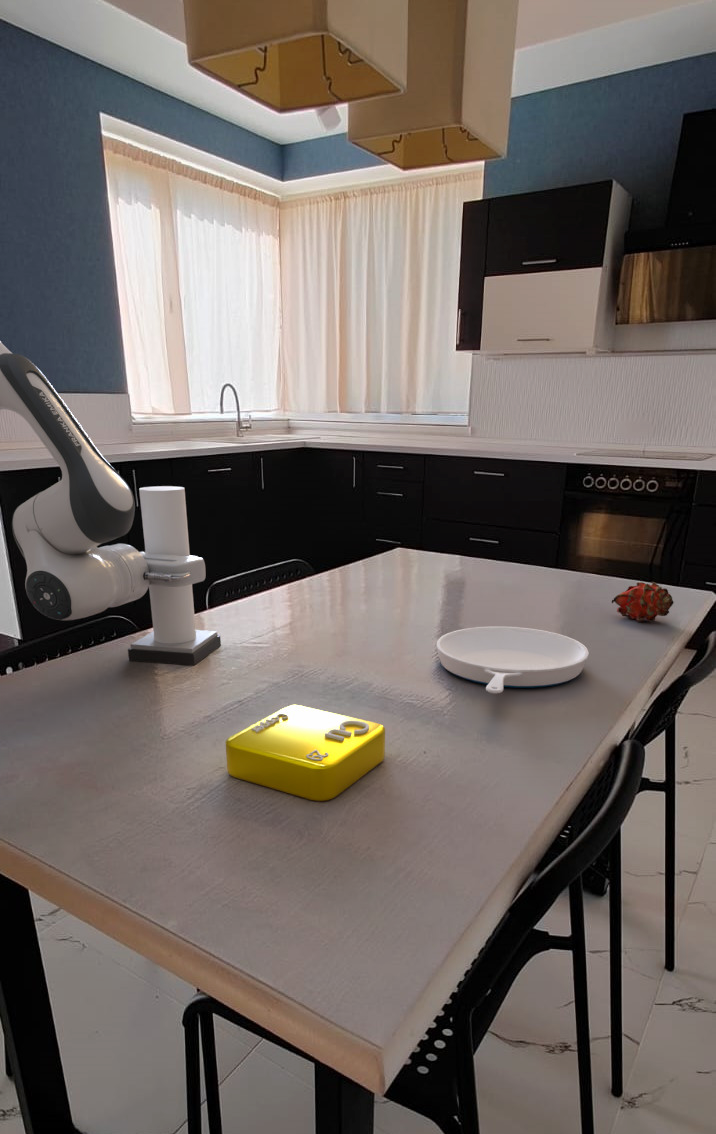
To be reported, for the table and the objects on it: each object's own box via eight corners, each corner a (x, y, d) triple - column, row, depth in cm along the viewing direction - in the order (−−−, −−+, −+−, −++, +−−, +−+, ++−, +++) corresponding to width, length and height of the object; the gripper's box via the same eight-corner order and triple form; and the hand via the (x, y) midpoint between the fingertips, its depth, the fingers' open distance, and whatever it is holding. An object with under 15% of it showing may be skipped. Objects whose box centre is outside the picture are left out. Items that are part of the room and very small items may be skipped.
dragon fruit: (673, 631, 157) (612, 633, 162) (674, 600, 161) (614, 602, 166) (673, 603, 150) (609, 606, 155) (674, 571, 154) (612, 575, 159)
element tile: (292, 732, 103) (291, 698, 101) (390, 756, 96) (391, 721, 94) (220, 774, 91) (217, 737, 90) (326, 806, 84) (326, 766, 83)
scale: (128, 660, 131) (126, 644, 130) (159, 641, 142) (158, 626, 141) (194, 665, 129) (193, 649, 128) (221, 645, 140) (220, 630, 139)
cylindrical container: (190, 630, 139) (178, 485, 129) (200, 640, 133) (189, 489, 123) (150, 634, 136) (135, 487, 126) (159, 645, 130) (144, 491, 120)
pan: (587, 652, 138) (590, 627, 136) (583, 731, 104) (587, 700, 103) (449, 640, 144) (450, 616, 142) (403, 711, 111) (404, 681, 109)
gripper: (175, 558, 113) (223, 544, 125) (64, 548, 120) (119, 535, 132) (179, 600, 116) (225, 582, 128) (69, 588, 123) (123, 572, 135)
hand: (171, 558), depth 130 cm, fingers open, 8 cm apart
